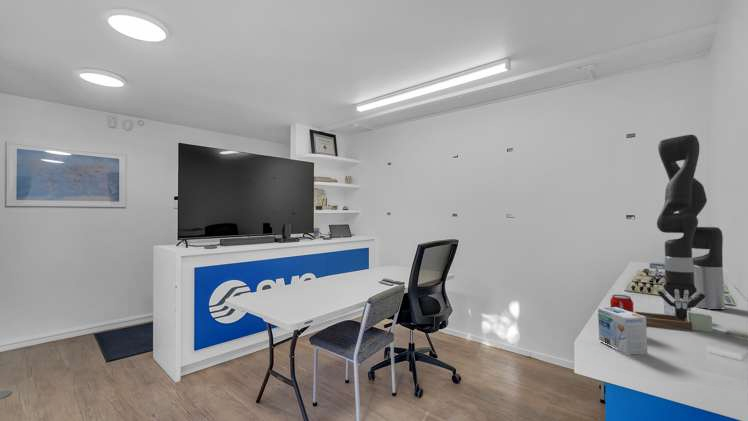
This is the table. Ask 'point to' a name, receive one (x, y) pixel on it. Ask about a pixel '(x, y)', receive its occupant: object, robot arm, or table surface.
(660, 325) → the walnut chute
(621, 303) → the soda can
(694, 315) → the sage block
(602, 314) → the light bulb box
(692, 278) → the robot arm
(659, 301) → the table surface
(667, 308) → the medicine box
